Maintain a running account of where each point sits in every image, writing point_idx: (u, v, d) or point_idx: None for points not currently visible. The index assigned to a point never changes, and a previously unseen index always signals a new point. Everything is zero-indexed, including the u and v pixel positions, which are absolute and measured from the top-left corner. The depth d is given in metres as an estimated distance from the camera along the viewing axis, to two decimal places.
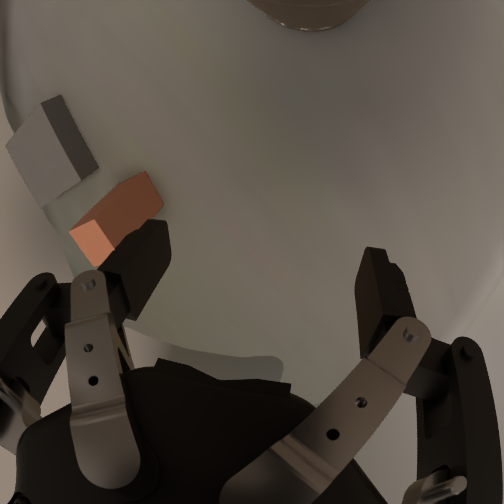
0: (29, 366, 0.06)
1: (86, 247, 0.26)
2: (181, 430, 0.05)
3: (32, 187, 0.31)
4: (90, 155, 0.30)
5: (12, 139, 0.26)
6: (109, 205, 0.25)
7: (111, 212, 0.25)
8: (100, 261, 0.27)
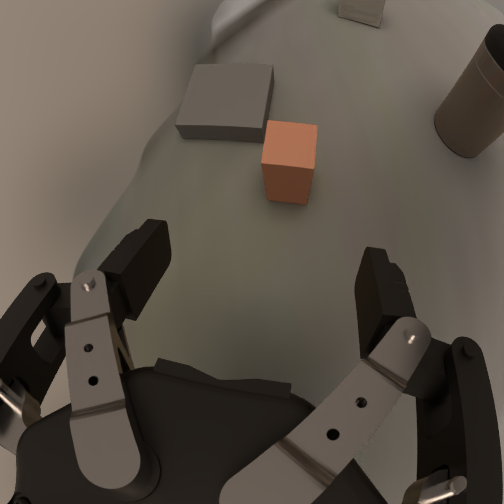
0: (29, 366, 0.06)
1: (275, 141, 0.25)
2: (181, 430, 0.05)
3: (189, 105, 0.34)
4: (265, 129, 0.36)
5: (211, 65, 0.35)
6: None
7: None
8: (278, 161, 0.25)
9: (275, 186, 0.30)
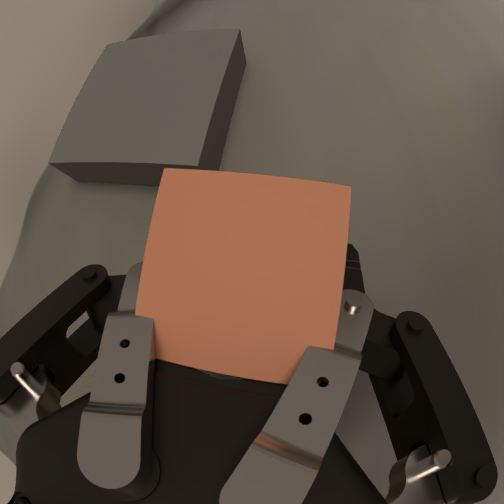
0: (59, 357, 0.07)
1: (180, 263, 0.07)
2: (181, 430, 0.05)
3: (75, 120, 0.16)
4: (219, 161, 0.18)
5: (129, 42, 0.17)
6: None
7: None
8: (188, 352, 0.06)
9: None
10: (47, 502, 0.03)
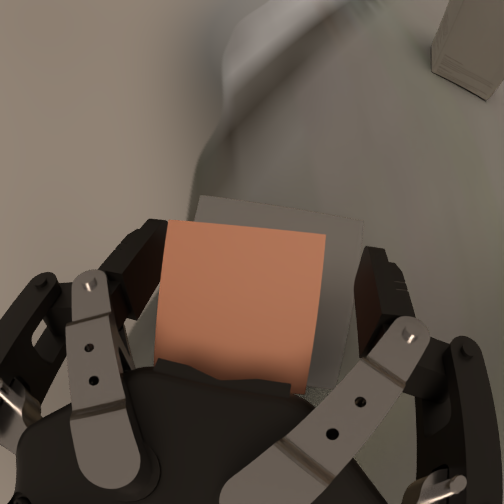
0: (30, 366, 0.06)
1: (188, 301, 0.08)
2: (181, 430, 0.05)
3: None
4: None
5: (233, 204, 0.19)
6: None
7: None
8: (199, 369, 0.08)
9: None
10: (47, 502, 0.03)
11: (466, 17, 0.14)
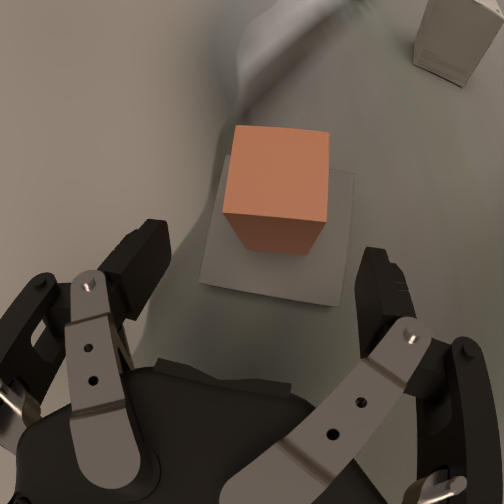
0: (29, 366, 0.06)
1: (249, 166, 0.13)
2: (181, 430, 0.05)
3: (219, 244, 0.23)
4: None
5: None
6: None
7: None
8: (256, 207, 0.13)
9: (255, 238, 0.18)
10: (47, 502, 0.03)
11: (439, 16, 0.19)
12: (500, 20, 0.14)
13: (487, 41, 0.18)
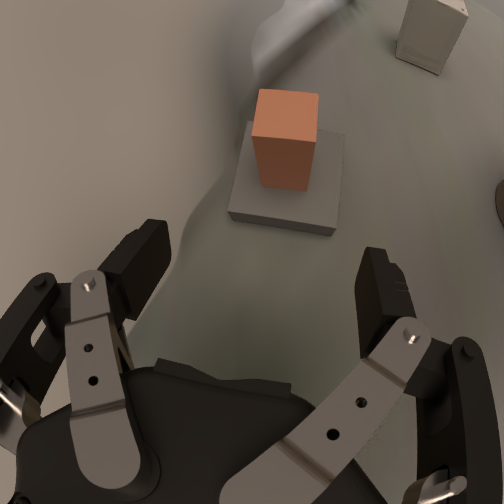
0: (29, 366, 0.06)
1: (268, 111, 0.20)
2: (181, 430, 0.05)
3: (244, 183, 0.30)
4: None
5: None
6: None
7: None
8: (272, 133, 0.20)
9: (270, 168, 0.25)
10: (47, 502, 0.03)
11: (414, 17, 0.26)
12: (464, 17, 0.20)
13: (455, 35, 0.24)
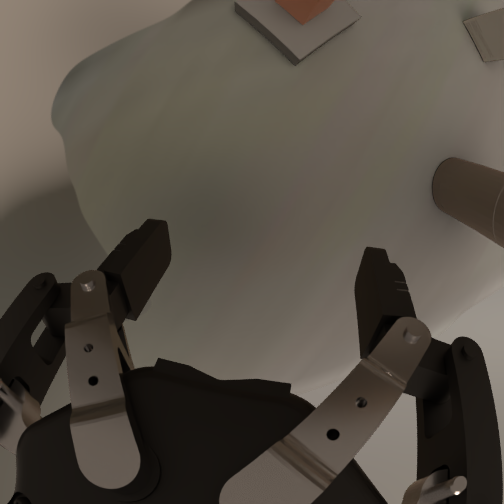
0: (29, 366, 0.06)
1: None
2: (181, 431, 0.05)
3: None
4: (305, 57, 0.31)
5: None
6: None
7: None
8: None
9: None
10: (47, 502, 0.03)
11: (500, 14, 0.18)
12: None
13: None
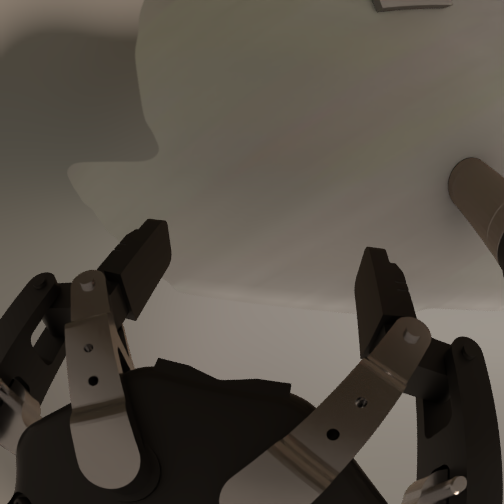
0: (29, 366, 0.06)
1: None
2: (181, 430, 0.05)
3: None
4: (389, 10, 0.26)
5: None
6: None
7: None
8: None
9: None
10: (47, 502, 0.03)
11: None
12: None
13: None
